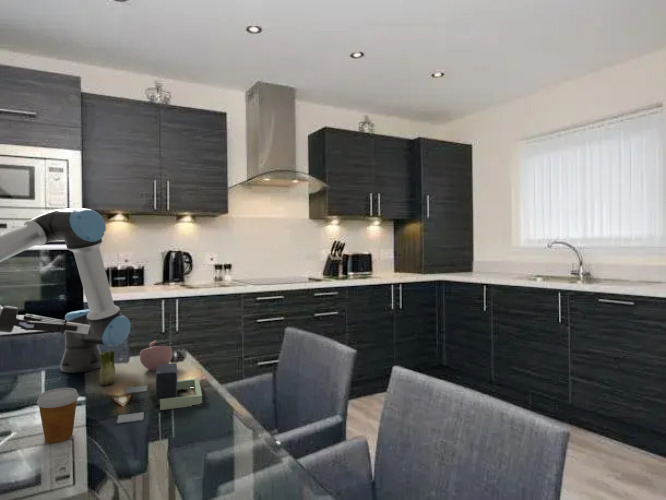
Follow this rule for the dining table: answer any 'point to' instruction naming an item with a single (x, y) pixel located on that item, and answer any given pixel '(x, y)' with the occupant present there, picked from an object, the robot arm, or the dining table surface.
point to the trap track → (168, 402)
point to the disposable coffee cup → (58, 413)
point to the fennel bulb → (107, 368)
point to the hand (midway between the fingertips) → (88, 329)
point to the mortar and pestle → (155, 356)
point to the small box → (166, 381)
